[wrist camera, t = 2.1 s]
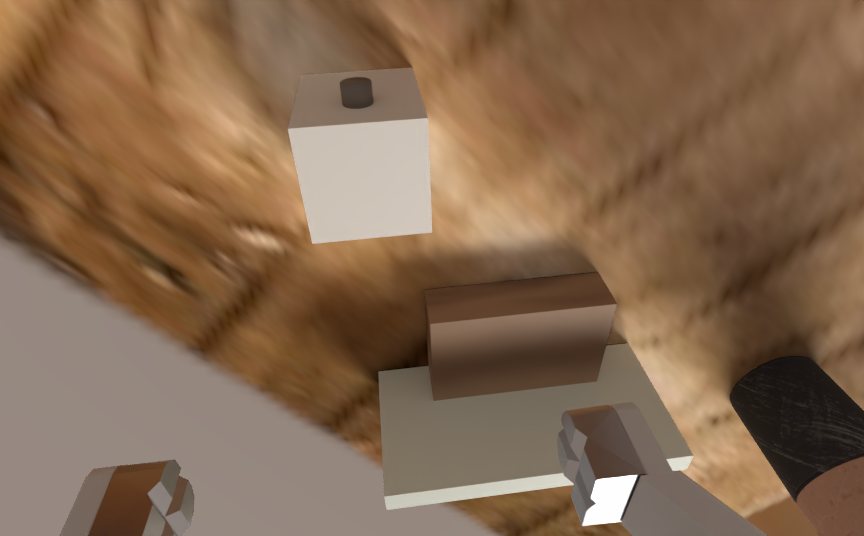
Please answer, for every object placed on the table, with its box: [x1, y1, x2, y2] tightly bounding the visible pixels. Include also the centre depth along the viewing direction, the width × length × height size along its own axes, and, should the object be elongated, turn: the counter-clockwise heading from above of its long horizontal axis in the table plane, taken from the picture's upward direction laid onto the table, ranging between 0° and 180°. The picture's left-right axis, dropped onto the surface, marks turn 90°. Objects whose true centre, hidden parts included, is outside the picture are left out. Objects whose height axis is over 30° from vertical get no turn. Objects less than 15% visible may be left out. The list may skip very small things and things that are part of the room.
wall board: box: [378, 343, 694, 510], centre depth 33 cm, size 2×18×9 cm, turn 92°
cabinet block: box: [288, 67, 432, 244], centre depth 22 cm, size 6×5×6 cm
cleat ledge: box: [424, 272, 617, 401], centre depth 33 cm, size 7×11×3 cm, turn 92°
